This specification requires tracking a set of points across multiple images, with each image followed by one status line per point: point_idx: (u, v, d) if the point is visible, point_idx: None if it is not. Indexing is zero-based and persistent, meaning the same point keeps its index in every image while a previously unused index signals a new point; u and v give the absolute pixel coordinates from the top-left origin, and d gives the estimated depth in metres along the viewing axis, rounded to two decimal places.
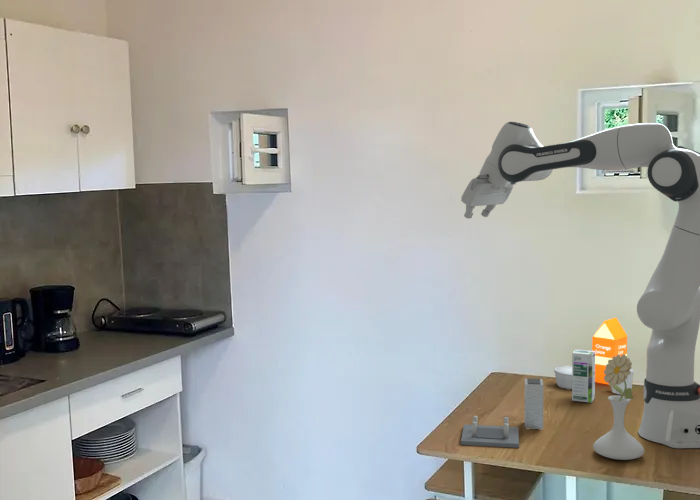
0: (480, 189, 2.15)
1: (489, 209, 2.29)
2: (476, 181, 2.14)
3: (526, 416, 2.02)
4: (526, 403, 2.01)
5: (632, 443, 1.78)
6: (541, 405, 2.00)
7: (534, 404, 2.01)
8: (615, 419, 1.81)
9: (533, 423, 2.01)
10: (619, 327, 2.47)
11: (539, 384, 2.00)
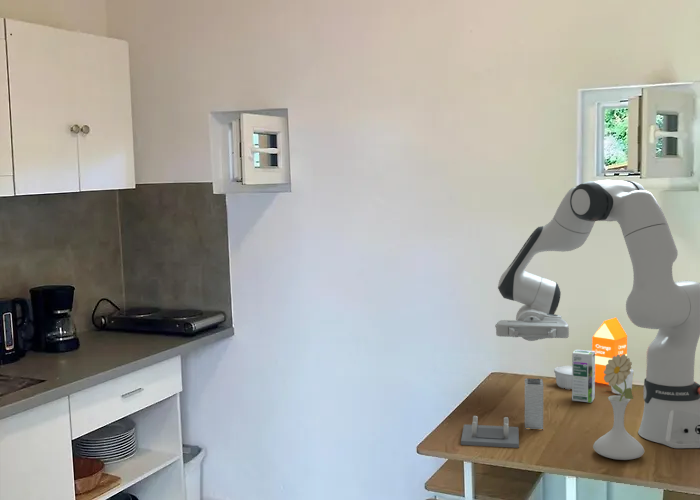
0: (502, 320, 2.26)
1: None
2: None
3: (526, 416, 2.02)
4: (526, 403, 2.01)
5: (632, 443, 1.78)
6: (541, 405, 2.00)
7: (534, 404, 2.01)
8: (615, 419, 1.81)
9: (533, 423, 2.01)
10: (619, 327, 2.47)
11: (539, 384, 2.00)
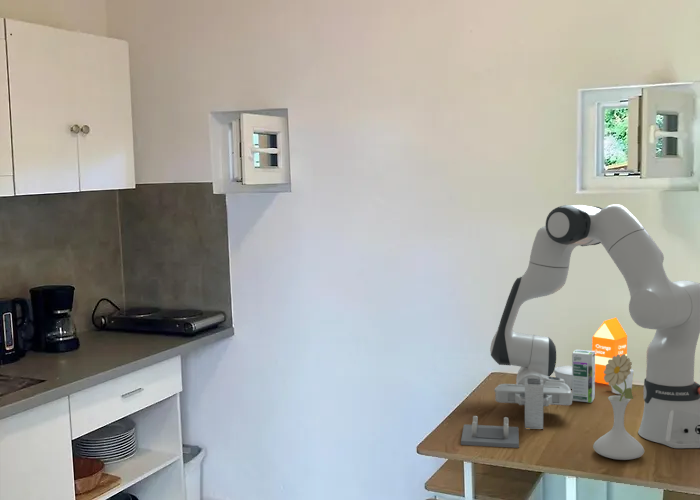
0: (502, 384, 2.14)
1: None
2: (497, 387, 2.17)
3: (526, 416, 2.02)
4: (526, 403, 2.01)
5: (632, 443, 1.78)
6: (541, 405, 2.00)
7: (534, 404, 2.01)
8: (615, 419, 1.81)
9: (533, 423, 2.01)
10: (619, 327, 2.47)
11: (539, 384, 2.00)
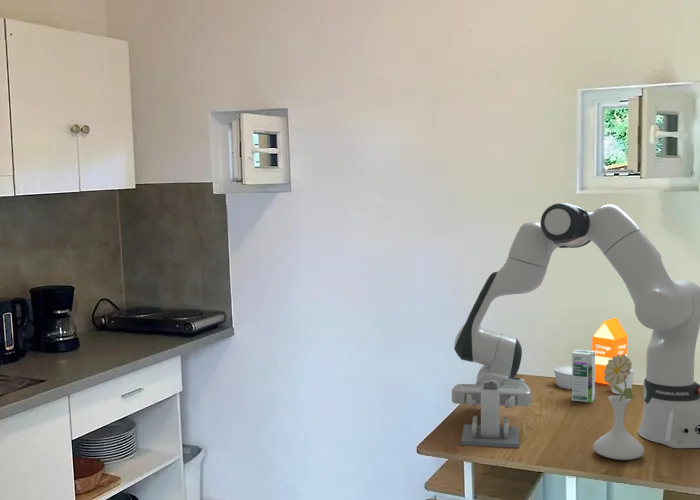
0: (460, 384, 2.06)
1: None
2: None
3: (482, 423, 1.93)
4: (482, 409, 1.93)
5: (632, 443, 1.78)
6: (497, 411, 1.92)
7: (490, 410, 1.92)
8: (615, 419, 1.81)
9: (489, 430, 1.93)
10: (619, 327, 2.47)
11: (495, 389, 1.92)
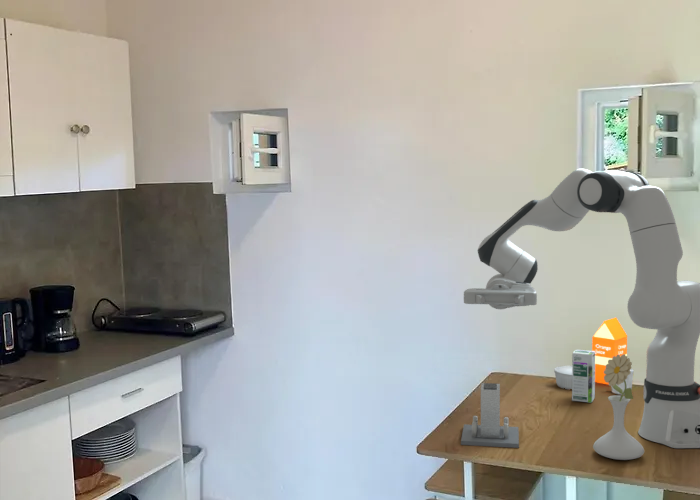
0: None
1: None
2: None
3: (482, 423, 1.93)
4: (482, 409, 1.93)
5: (632, 443, 1.78)
6: (497, 411, 1.92)
7: (490, 410, 1.92)
8: (615, 419, 1.81)
9: (489, 430, 1.93)
10: (619, 327, 2.47)
11: (495, 389, 1.92)
